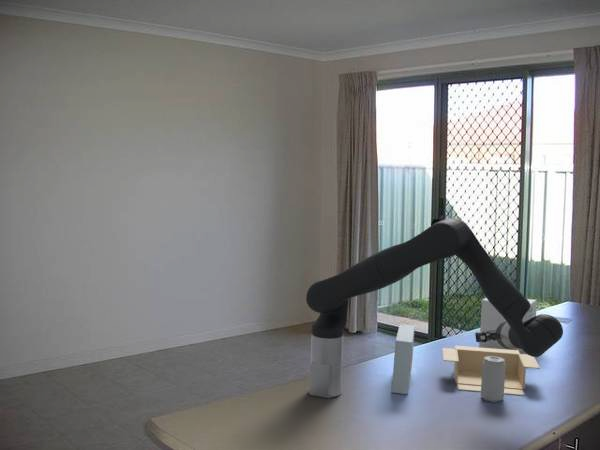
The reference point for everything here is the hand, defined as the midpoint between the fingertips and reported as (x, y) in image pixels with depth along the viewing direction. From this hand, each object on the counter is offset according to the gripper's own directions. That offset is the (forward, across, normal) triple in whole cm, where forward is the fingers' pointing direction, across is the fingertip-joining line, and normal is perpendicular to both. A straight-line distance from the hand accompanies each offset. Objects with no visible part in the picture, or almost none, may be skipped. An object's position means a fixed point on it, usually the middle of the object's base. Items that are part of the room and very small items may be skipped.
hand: (494, 334), depth 191 cm
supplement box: (+59, -23, +8) cm, 64 cm away
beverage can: (+7, +1, +18) cm, 20 cm away
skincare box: (+20, +24, +12) cm, 34 cm away
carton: (+22, -3, +15) cm, 27 cm away
